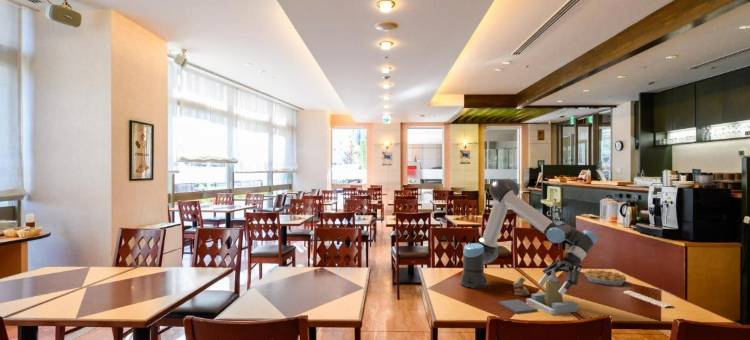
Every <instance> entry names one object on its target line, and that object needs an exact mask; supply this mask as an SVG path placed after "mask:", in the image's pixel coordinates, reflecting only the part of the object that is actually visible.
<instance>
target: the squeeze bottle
mask: <svg viewBox="0 0 750 340" xmlns="http://www.w3.org/2000/svg"><path fill="white" fill-rule="evenodd" d="M561 287H562V283H561V282H560V279H559V277H558V276H557V273H555V270H552V272H551V275H550V276H549V277H548V280H547V281H546V282H545V292H544V293H545V301H546V303H545V304H546V306H548V307H550V308H552V303H558V302H564V301H563V299H564V298H563V295H561V294H560V293H559V292H558V291H559V290H560V288H561Z"/></svg>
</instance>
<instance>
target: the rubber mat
mask: <svg viewBox="0 0 750 340" xmlns="http://www.w3.org/2000/svg"><path fill="white" fill-rule="evenodd" d="M497 305H500V306H502V307H503V308H505V309H507V310H508V311H511V312H513V313H514V314H517V315H518V314H523V313H524V314H525V313H533V312H538V309H539V308H537V307H535V306H533V305H531V304H529V303H527V302H526V301H525V302H524V301H522V300H521V299H519V298H517V299H509V300H499V301H497Z"/></svg>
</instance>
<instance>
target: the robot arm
mask: <svg viewBox="0 0 750 340" xmlns="http://www.w3.org/2000/svg"><path fill="white" fill-rule="evenodd" d="M488 187H489V188H488V189H489V191H488V192H489V194H490V195H491V197H492V199H493V205H492V207H491V211H490V214H489V217H488V219H487V222H486V226H485V229H484V230H483V231H484V232H483V235H482V236H481V237H480V238H479V239H478V242H474V243H473V242H472V243H468V244H465V245H464V246H463V252H462V254H463V255H462V256H463V257H462V259H463V263H462V265H463V267H462V269H463V271H462V274H461V277H460V280H459V283H461V284H462V285H464V286H466V287H465V288H468V287H471V288H470V289H477V288H478V289H485V288H487V287H488V281H487V278H486V275H485V269H484V268H485V265H487V264H490V263H493V262H494V261H495V260H496V259H497V258H498V256H499V250H498V247H499V244H498V239H499V236H500V233H501V230H502V227H503V224H504V222H505V218H506V215H507V213H508V210H509V209H510V210H512V211H513V212H514V213H515V214H517V215H518V216H520V217H521V218H522V219H523V220H525V221H526V222H528V223H529V224H531V225H532V226H533V227H535V228H536V229H537V230H538V231H540V232H541V233H542V234H544V235H546V239H547V240H548V241H549V242H550V243H553V244H559V243H563V242H564V241H567V242H569V243H570V244H572V245H571V246H570V247H569V248H568V250H567V252H566V253H565V254H564V256H563V257H562V259H563V260H561V261H560V260H559V259H556V260H555V261H554V262H553V263H551V264H550V265H548V266H547V267H545V268H544V269H543V270H542V272H543V275H542V276H541V277H540V280H539V281H538V282H537V284H538V286H540V287H544V285H546V281H548V277H549V276H551V272H552V270H555V273H556V274H557V273H558V272H564V273H567V280H566V281H564V283H563V284H562V285H561V288H560V290H559V291H558V292H559V293H560V294H561V295H562V296H564V295H565V293H566V292H567V291H568V290H569V289H570V288H571V287H572V286H573V285H574V286H577V285H578V281H579V276H580V272H581V271H582V268H580V264H581V263H582V261H583V260H584V258H586V256H587V255H588V254H589V253H590V251H591V250H592V249H593V248H594V246H595V244H596V243H597V242H598V236H597V234H595V233H594V232H593V231H591V230H588V229H584V230H582V231H580V230H579V229H576V228H575V227H572V226H571V225H569V224H567V223H566V222H563V221H561V220H560V221H557V222H556V223H555V222H554V221H552V220H551V219H550V218H548V217H547V216H546V215H544V214H543V213H541V212H540V211H538V210H537V209H536V208H534V207H533V206H532V205H530V204H529V203H528V202H526V201H525V200H524V199H522V198H521V197H519V195H520V186H519V184H518V182H517V181H516V180H514V179H511V178H504V179H503V178H498V179H495V180H493V181H492V182H491V183H490V185H489V186H488ZM461 284H460V285H461ZM462 285H461V286H462ZM464 286H463V287H464Z"/></svg>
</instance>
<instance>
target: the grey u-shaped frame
mask: <svg viewBox="0 0 750 340" xmlns="http://www.w3.org/2000/svg"><path fill="white" fill-rule="evenodd" d="M530 297H531V298H530ZM530 297H529V298H526V301H525V303H527V304H529V305H531V306H533V307H535V308H537V309H539V310H541V311H543V312H544V313H547V314H549V315H551V316H552V315H560V314H561V315H562V314H569V313H577V312H578V302H575V301H573V300H569V301H568V300H567V301H562V302H558V303H552V308H551V307H548V306H547V305H545V304H546V301H545V292H539V293H538V292H536V293H531V295H530Z"/></svg>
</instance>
